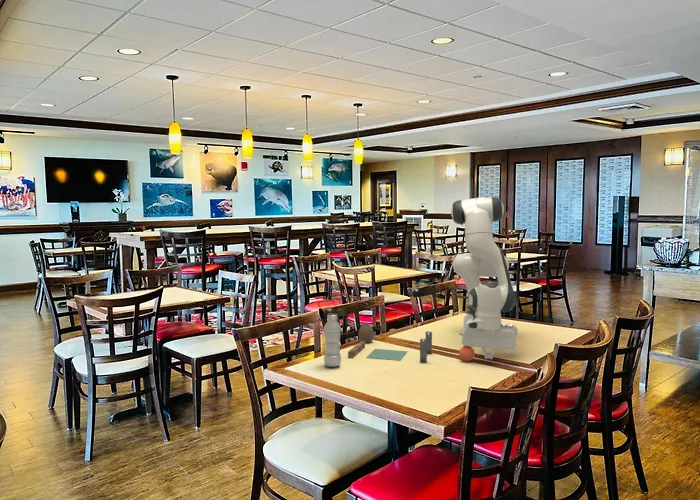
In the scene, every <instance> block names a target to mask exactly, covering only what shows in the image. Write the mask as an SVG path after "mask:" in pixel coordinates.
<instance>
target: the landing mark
mask: <svg viewBox="0 0 700 500" xmlns="http://www.w3.org/2000/svg"><path fill="white" fill-rule="evenodd" d="M407 353H408V351H406V350H395V349H393V350H392V349H381V348H375V349H373V350H372V351H371V352H370V353H369V354H368V355H367V356H366V357H365V358H367V359H374V360H375V359H376V360H385V359H386V360H387V361H397V362H399V361H400V362H401V361H402V359H403V358H404V357H405V356H406V354H407ZM386 360H385V361H386Z"/></svg>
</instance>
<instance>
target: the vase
mask: <svg viewBox="0 0 700 500" xmlns="http://www.w3.org/2000/svg"><path fill="white" fill-rule="evenodd" d="M374 338H375V333H374V329H373V327H372V326H371V325H370V323H369V322H363V323H362V325H361V326H360V327H359V330H358V340H359V342H360V341H363V342H365V344H370V343H371V342H372V341H373V340H374Z"/></svg>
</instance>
